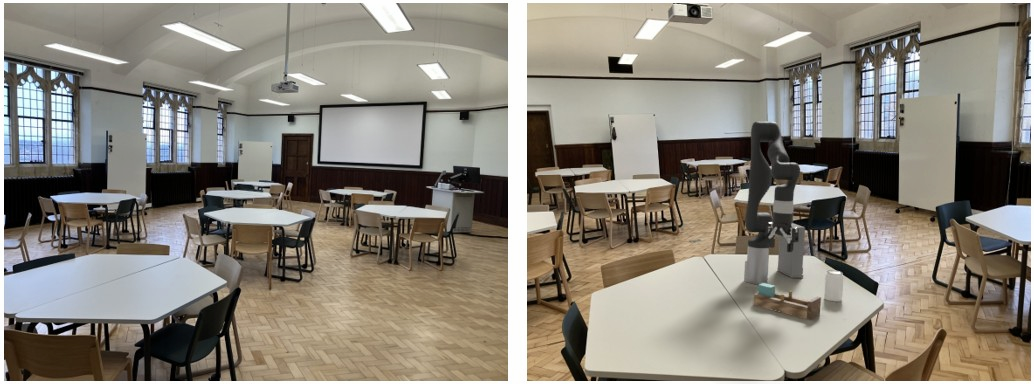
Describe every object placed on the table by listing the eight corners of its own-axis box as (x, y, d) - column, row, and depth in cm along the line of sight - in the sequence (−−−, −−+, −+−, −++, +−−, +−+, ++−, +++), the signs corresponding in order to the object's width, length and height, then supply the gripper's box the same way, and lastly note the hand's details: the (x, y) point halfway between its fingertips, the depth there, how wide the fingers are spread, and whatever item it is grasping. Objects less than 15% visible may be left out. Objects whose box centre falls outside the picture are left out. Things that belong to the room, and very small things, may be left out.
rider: (757, 296, 215) (758, 284, 214) (762, 294, 217) (763, 282, 216) (769, 299, 211) (770, 287, 210) (774, 297, 213) (775, 285, 213)
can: (844, 302, 216) (846, 274, 215) (827, 301, 217) (829, 273, 216) (838, 297, 222) (840, 270, 221) (821, 296, 224) (823, 269, 222)
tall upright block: (803, 278, 252) (807, 227, 249) (791, 278, 252) (794, 227, 249) (789, 270, 265) (792, 222, 262) (777, 270, 265) (780, 222, 262)
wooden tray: (753, 304, 214) (754, 288, 213) (763, 300, 219) (764, 284, 219) (809, 320, 197) (811, 302, 196) (819, 314, 202) (821, 297, 201)
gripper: (762, 209, 218) (759, 247, 220) (791, 214, 205) (789, 254, 207) (775, 208, 221) (772, 245, 223) (804, 213, 208) (802, 252, 210)
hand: (780, 249), depth 215 cm, fingers open, 8 cm apart
